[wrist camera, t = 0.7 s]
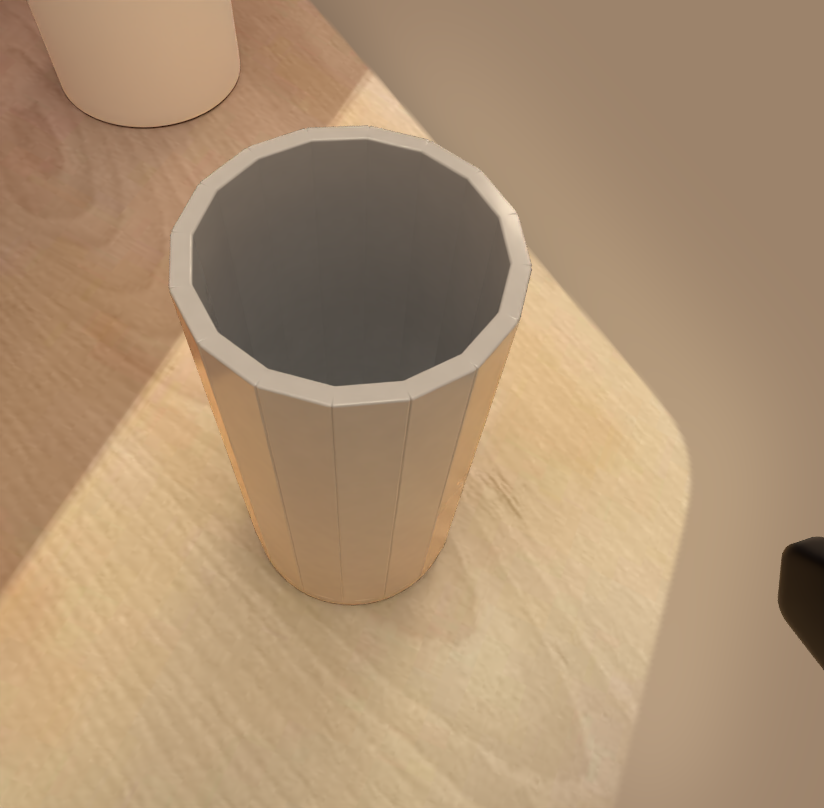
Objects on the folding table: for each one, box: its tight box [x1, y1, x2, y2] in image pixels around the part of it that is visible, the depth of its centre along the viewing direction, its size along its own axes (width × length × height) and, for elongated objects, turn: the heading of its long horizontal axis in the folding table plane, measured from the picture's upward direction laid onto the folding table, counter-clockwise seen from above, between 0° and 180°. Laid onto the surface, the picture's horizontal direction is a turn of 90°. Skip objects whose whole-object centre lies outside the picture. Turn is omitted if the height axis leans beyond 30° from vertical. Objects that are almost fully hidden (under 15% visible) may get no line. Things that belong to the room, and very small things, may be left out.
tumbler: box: [169, 126, 532, 605], centre depth 19 cm, size 6×6×13 cm
